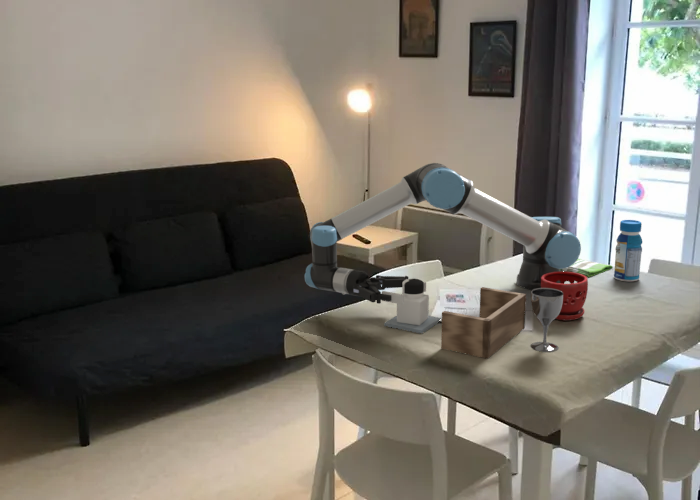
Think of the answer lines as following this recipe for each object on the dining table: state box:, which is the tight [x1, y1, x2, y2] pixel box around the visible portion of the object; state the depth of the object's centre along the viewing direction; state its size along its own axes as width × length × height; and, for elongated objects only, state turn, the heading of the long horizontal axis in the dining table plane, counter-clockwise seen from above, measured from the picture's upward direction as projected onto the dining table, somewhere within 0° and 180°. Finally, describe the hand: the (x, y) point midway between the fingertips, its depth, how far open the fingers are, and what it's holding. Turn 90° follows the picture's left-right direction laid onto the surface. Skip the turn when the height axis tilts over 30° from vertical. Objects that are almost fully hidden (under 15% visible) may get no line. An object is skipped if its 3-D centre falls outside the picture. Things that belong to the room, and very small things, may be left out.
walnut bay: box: [440, 286, 527, 359], centre depth 200 cm, size 13×26×10 cm, turn 147°
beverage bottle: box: [613, 219, 643, 283], centre depth 251 cm, size 8×8×20 cm
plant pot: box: [541, 271, 589, 321], centre depth 216 cm, size 13×13×12 cm
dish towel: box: [560, 258, 613, 278], centre depth 269 cm, size 17×23×4 cm
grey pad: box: [383, 315, 442, 334], centre depth 213 cm, size 12×12×1 cm
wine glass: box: [530, 288, 563, 353], centre depth 192 cm, size 8×8×15 cm
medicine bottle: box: [396, 278, 430, 325], centre depth 211 cm, size 7×7×12 cm
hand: (414, 293), depth 210 cm, fingers open, 13 cm apart
